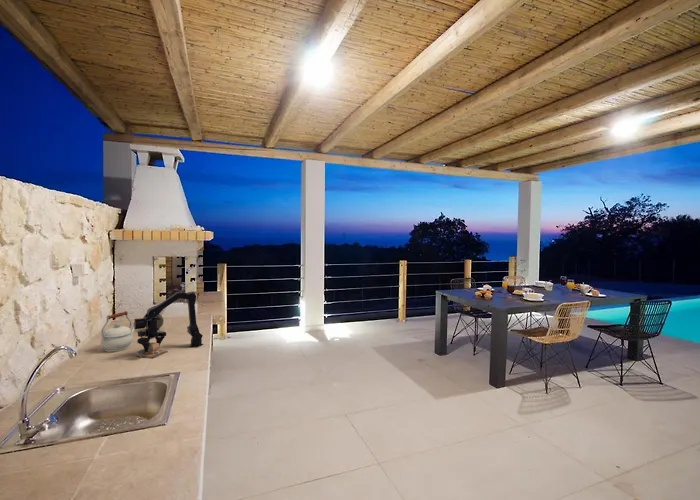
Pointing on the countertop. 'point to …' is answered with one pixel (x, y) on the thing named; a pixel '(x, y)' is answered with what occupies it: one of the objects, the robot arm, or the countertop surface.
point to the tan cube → (152, 348)
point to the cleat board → (156, 354)
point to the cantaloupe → (159, 321)
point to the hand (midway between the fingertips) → (152, 349)
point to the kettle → (117, 335)
